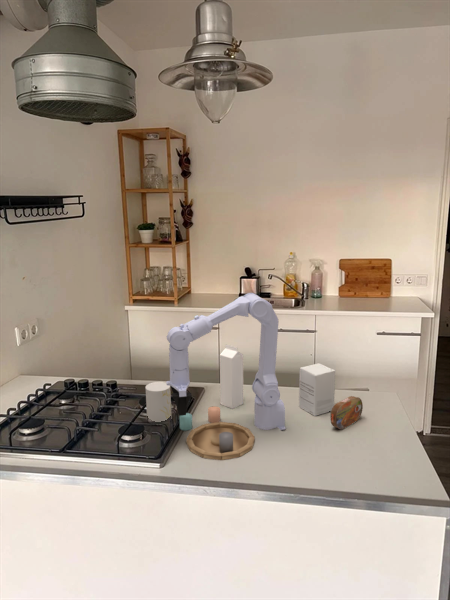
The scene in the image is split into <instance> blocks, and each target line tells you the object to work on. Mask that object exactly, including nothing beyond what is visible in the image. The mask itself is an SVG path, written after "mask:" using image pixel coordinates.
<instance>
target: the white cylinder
mask: <svg viewBox="0 0 450 600" xmlns="http://www.w3.org/2000/svg"><path fill="white" fill-rule="evenodd" d="M171 398H172V393H171V387H170V385H167V384H166V381H153V382H150V383H148V384H146V385H145V402H146V403H145V405H146V417H147V416H148V418H149V419H151V420H152V421H155V422H161V421H165V420H167V419H168V418H169V417H170V416H171V417H172V399H171Z"/></svg>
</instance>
